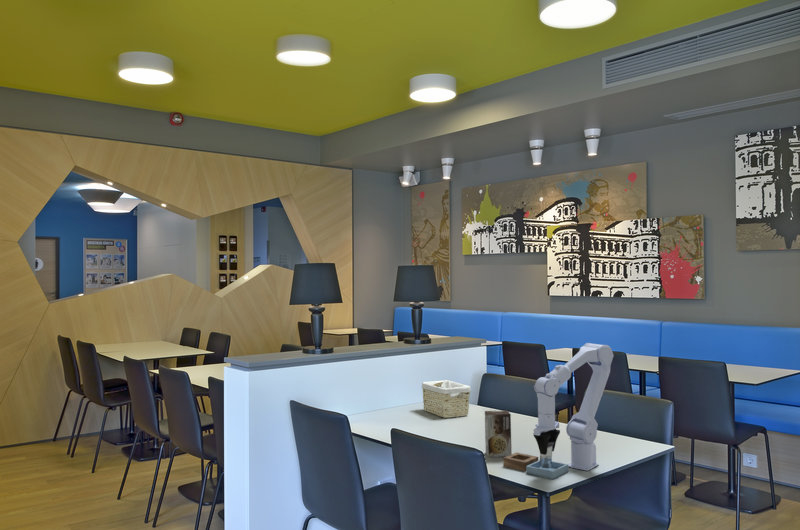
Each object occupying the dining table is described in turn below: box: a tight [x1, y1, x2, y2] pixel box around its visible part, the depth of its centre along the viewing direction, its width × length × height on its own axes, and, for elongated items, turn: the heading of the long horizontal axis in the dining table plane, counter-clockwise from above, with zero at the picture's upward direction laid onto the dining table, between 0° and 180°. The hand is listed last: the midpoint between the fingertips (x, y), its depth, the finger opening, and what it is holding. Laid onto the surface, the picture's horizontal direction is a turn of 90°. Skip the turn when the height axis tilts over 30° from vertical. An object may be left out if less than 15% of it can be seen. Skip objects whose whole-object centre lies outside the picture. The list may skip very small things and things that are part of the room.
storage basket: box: [421, 379, 472, 419], centre depth 312 cm, size 24×16×15 cm
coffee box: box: [484, 410, 513, 458], centre depth 238 cm, size 9×6×16 cm
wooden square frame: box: [502, 451, 539, 472], centre depth 223 cm, size 9×9×3 cm
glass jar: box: [539, 440, 554, 468], centre depth 216 cm, size 5×5×9 cm
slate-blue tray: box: [525, 459, 569, 480], centre depth 215 cm, size 11×10×2 cm
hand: (547, 452), depth 215 cm, fingers closed on glass jar, 5 cm apart
